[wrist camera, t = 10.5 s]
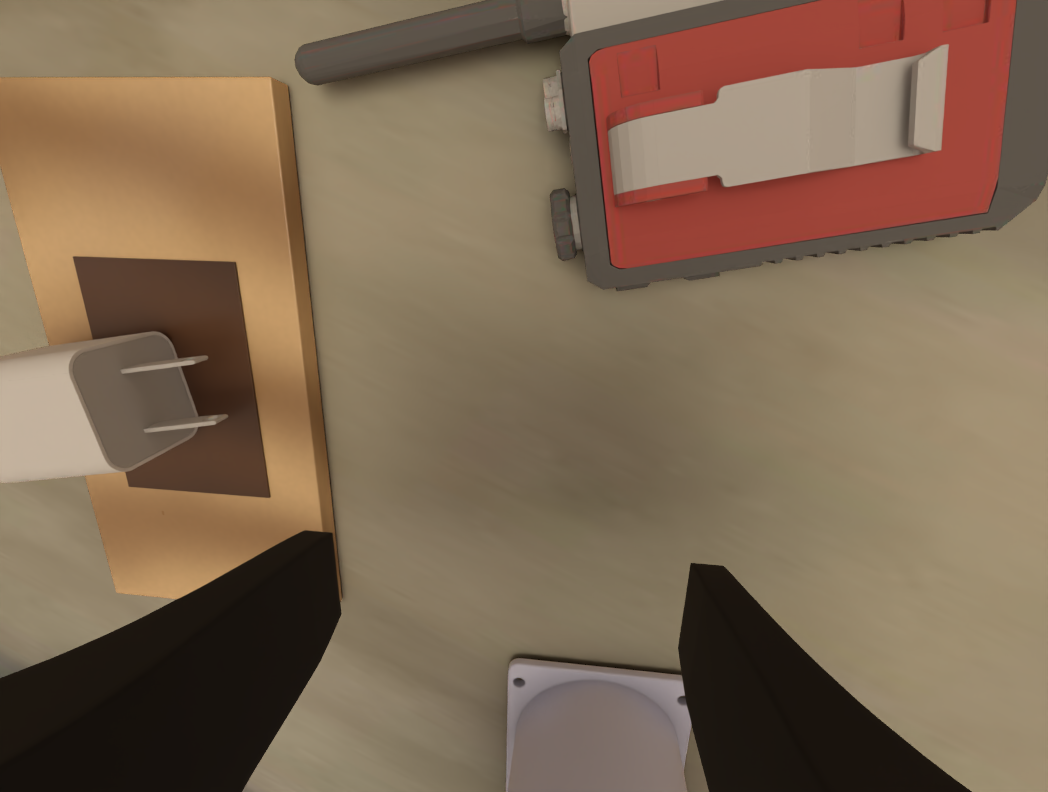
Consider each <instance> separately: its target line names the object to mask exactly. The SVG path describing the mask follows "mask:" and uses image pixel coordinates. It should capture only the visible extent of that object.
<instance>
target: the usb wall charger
mask: <svg viewBox="0 0 1048 792" xmlns="http://www.w3.org/2000/svg"><path fill="white" fill-rule="evenodd" d="M207 359H208V356H206V355H204V356H196V357H187V358H179V359H178V357H177V354H176V352H175V349H174V346H173V344H172V342H171V341H170V340H169V339H168V337H166V336H165V335H164V334H162V333H160V332H156V331H152V332H145V333H138V334H131V335H124V336H117V337H110V338H102V339H95V340H88V341H81V342H74V343H67V344H60V345H53V346H46V347H41V348H36V349H32V350H27V351H23V352H19V353H14V354H10V355H5V356H1V357H0V482H3V483H14V482H24V481H35V480H45V479H55V478H65V477H76V476H86V475H96V474H107V473H117V472H127V471H131V470H133V469H135V468H137V467H139V466H141V465H142V464H144V463H146V462H148V461H150V460H152V459H154V458H155V457H157V456H159V455H161V454H163V453H165V452H166V451H168V450H170V449H172V448H174V447H176V446H177V445H179V444H181V443H183V442H185V441H187V440H189V439H190V438H192V437H193V436H194V435H195V433H196V431H197V429H198V427H201V426H209V425H215V424H217V423H219V422H221V421H222V420H224V419H226V418H228V415H227V414H222V415H210V416H200V417H198V414H197V411H196V408H195V405H194V402H193V399H192V397H191V394H190V391H189V388H188V385H187V382H186V380H185V377H184V374H183V371H182V368H181V366H186V365H193V364H196V363H199V362H201V361H204V360H207Z"/></svg>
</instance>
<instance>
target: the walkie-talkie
mask: <svg viewBox="0 0 1048 792" xmlns="http://www.w3.org/2000/svg"><path fill="white" fill-rule="evenodd" d="M564 35H570V36H571V38H570V39H569V41H568V42H567V43H566V44H565V45H564V46H563V48H562V49H561V50H560V51H559V52H560V61H561V69H562V72H561V73H560V70H556V76H553V77H549V78H545V79H543V87H544V95H545V99H544V107H545V114H546V121H547V127H548V130H549V131H554V130H561V129H563V133H564V134H565V133H567V131H568V130H569V134H570V141H569V145H570V153H571V161H572V165H573V170H574V178H575V186H576V194H575V196H571V197H570V194H569V192H568V190H566V189H565V188H563V189H558V190H553V191H552V193H551V194H550V202H551V214H552V223H553V230H554V236H555V242H556V247H557V252H558V257H559V258H560V259H561V260H562V261H566V260H569V259H573V258H575V257H576V255H577V250H579V249H582V251H583V252H584V257H585V264H586V272H587V280H588V281H589V282H590V283H592V284H594V285H596V286H598V287H600V288H602V289H609V288H616V290H617V291H622V290H629V289H635V288H642V287H647V286H648V285H649V284H650V283H651V282H656V281H663V280H669V279H676V278H685V279H687V280H696V279H703V278H709V277H716V276H720V274H719V272H723V271H729V270H736V269H743V268H749V267H756V266H761V264H762V262H770V263H781V262H782V260H783V259H791V260H802V259H803V257H804V256H813V257H822V256H824V254H825V253H835V254H842V253H845V252H846V250H858V251H862V250H867V248H868V247H869V246H870V247H888V246H889V245H890V244H891V243H894V244H908V243H911V242H912V241H913V240H922V241H929V240H934V238H935V237H955V236H957V235H958V234H975V233H980V231H981V230H999V229H1000V228H1002V227H1003V226H1004V225H1005V224H1007V223H1008V222H1009V221H1010V220H1012V219H1013V218H1014V217H1015V216H1017V215H1018V214H1019V213H1021V212H1022V211H1023V210H1024V209H1026V208H1027V207H1028V206H1029V205H1031V204H1032V203H1033V202H1034V201H1036V200H1037V198H1038V196H1039V194H1040V193H1041V191H1042V189H1043V188H1044V186H1045V184H1046V180H1047V176H1048V0H485V1H481V2H477V3H473V4H469V5H465V6H461V7H457V8H452V9H448V10H444V11H440V12H436V13H432V14H428V15H424V16H419V17H415V18H411V19H407V20H403V21H399V22H395V23H391V24H387V25H382V26H378V27H374V28H370V29H366V30H362V31H358V32H354V33H349V34H345V35H341V36H337V37H333V38H329V39H325V40H321V41H316V42H312V43H308V44H304V45H302V46H301V47H300V48H299V49H298V51H297V53H296V55H295V65H296V69H297V71H298V72H299V74H300V75H301V77H302V78H303V79H304V80H305V81H307V82H308V83H310V84H314V85H322V84H326V83H330V82H335V81H339V80H344V79H348V78H353V77H357V76H361V75H366V74H370V73H375V72H379V71H384V70H388V69H393V68H397V67H401V66H406V65H410V64H415V63H419V62H424V61H428V60H432V59H437V58H441V57H446V56H450V55H455V54H459V53H463V52H468V51H472V50H477V49H481V48H486V47H490V46H494V45H499V44H503V43H508V42H512V41H517V40H521V39H523V40H524V41H525V42H526V43H528V44H529V43H533V42H537V41H542V40H546V39H551V38H555V37H559V36H564Z"/></svg>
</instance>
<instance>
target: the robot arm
mask: <svg viewBox="0 0 1048 792" xmlns="http://www.w3.org/2000/svg"><path fill="white" fill-rule="evenodd" d="M340 616H341V606H340V596H339V587H338V578H337V569H336V559H335V550H334V541H333V533H331V532H320V531H308V530H304V531H302V532H300V533H298V534H296V535H293V536H292V537H290V538H288V539H286V540H284V541H282V542H280V543H278V544H277V545H275V546H273V547H271V548H269V549H268V550H266V551H264V552H262V553H261V554H259V555H257V556H255V557H254V558H252V559H250V560H248V561H246V562H245V563H243V564H241V565H239V566H238V567H236V568H234V569H232V570H230V571H229V572H227V573H225V574H223V575H222V576H220V577H218V578H216V579H214V580H213V581H211V582H209V583H207V584H206V585H204V586H202V587H200V588H198V589H196V590H194V591H192V592H190V593H188V594H187V595H185V596H183V597H181V598H179V599H177V600H175V601H173V602H171V603H169V604H167V605H165V606H164V607H162V608H160V609H158V610H156V611H154V612H152V613H150V614H148V615H146V616H144V617H142V618H140V619H138V620H136V621H134V622H132V623H130V624H128V625H126V626H124V627H122V628H119V629H117V630H115V631H113V632H111V633H109V634H107V635H104V636H102V637H100V638H98V639H95V640H93V641H91V642H89V643H86V644H84V645H82V646H80V647H77V648H75V649H73V650H71V651H68V652H66V653H63V654H61V655H59V656H56V657H54V658H51V659H49V660H46V661H44V662H41V663H39V664H36V665H33V666H31V667H28V668H26V669H23V670H21V671H18V672H15V673H13V674H10V675H8V676H5V677H2V678H0V792H242V791H243V789H244V787H245V785H246V784H247V782H248V780H249V778H250V776H251V775H252V773H253V772H254V770H255V768H256V767H257V765H258V763H259V762H260V760H261V758H262V757H263V755H264V754H265V752H266V750H267V749H268V747H269V745H270V744H271V742H272V740H273V739H274V737H275V736H276V734H277V732H278V731H279V729H280V727H281V726H282V724H283V722H284V721H285V719H286V718H287V716H288V714H289V713H290V711H291V709H292V708H293V706H294V704H295V703H296V701H297V700H298V698H299V696H300V695H301V693H302V691H303V690H304V688H305V686H306V685H307V683H308V681H309V680H310V678H311V676H312V675H313V673H314V671H315V669H316V668H317V666H318V664H319V663H320V661H321V659H322V656H323V654H324V652H325V650H326V648H327V646H328V644H329V641H330V639H331V637H332V635H333V632H334V630H335V628H336V625H337V623H338V621H339V618H340ZM678 650H679V658H680V665H681V672H682V675H676V674H666V673H657V672H647V671H638V670H628V669H619V668H609V667H600V666H590V665H581V664H571V663H562V662H552V661H543V660H533V659H524V658H516V659H514V660H512V661H511V662H510V664H509V669H508V704H507V759H506V792H687V787H686V782H685V776H684V766H685V760H686V754H687V748H688V742H689V736H690V730H691V724H692V728H693V732H694V735H695V739H696V743H697V747H698V751H699V755H700V758H701V762H702V766H703V770H704V774H705V777H706V781H707V785H708V789H709V792H971V791H970V790H969V789H967V788H966V787H964V786H963V785H962V784H960V783H959V782H958V781H956V780H955V779H953V778H952V777H951V776H950V775H948V774H947V773H946V772H944V771H943V770H942V769H940V768H939V767H938V766H937V765H935V764H934V763H933V762H931V761H930V760H929V759H927V758H926V757H925V756H924V755H922V754H921V753H920V752H919V751H917V750H916V749H915V748H914V747H913V746H911V745H910V744H909V743H908V742H906V741H905V740H904V739H903V738H902V737H900V736H899V735H898V734H897V733H895V732H894V731H893V730H892V729H891V728H889V727H888V726H887V725H886V724H884V723H883V722H882V721H881V720H880V719H878V718H877V717H876V716H875V715H874V714H872V713H871V712H870V711H869V710H868V709H867V708H866V707H864V706H863V705H862V704H861V703H860V702H859V701H857V700H856V699H855V698H854V697H853V696H852V695H851V694H850V693H849V692H848V691H847V690H845V689H844V688H843V687H842V686H841V685H840V684H839V683H838V682H837V681H836V680H835V679H833V678H832V677H831V676H830V675H829V674H828V673H827V672H826V671H825V670H824V669H823V668H822V667H821V666H819V665H818V664H817V663H816V662H815V661H814V660H813V659H812V658H811V657H810V656H809V655H808V654H807V653H806V652H805V651H804V650H803V649H802V648H801V647H800V646H799V645H798V644H797V643H796V642H795V641H794V640H793V639H792V638H791V637H790V636H789V635H788V634H787V633H786V632H785V631H784V630H783V629H782V628H781V627H780V626H779V625H778V624H777V623H776V621H775V620H774V619H773V618H772V617H771V616H770V615H769V614H768V613H767V612H766V611H765V610H764V609H763V608H762V607H761V606H760V604H759V603H758V602H757V601H756V600H755V599H754V598H753V597H752V596H751V595H750V594H749V593H748V592H747V590H746V589H745V588H744V587H743V586H742V585H741V584H740V583H739V582H738V581H737V580H736V579H735V577H734V576H733V575H732V574H731V573H730V572H729V571H728V570H727V569H726V568H725V567H724V566H719V565H707V564H695V563H691V565H690V572H689V579H688V585H687V592H686V599H685V606H684V612H683V619H682V626H681V632H680V639H679V646H678ZM517 678H521V679H523V680H519V679H517ZM680 696H685V697H680Z"/></svg>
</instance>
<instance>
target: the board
mask: <svg viewBox="0 0 1048 792" xmlns="http://www.w3.org/2000/svg"><path fill="white" fill-rule="evenodd" d="M0 167H1V170H2V174H3V178H4V181H5V185H6V189H7V192H8V196H9V200H10V203H11V207H12V211H13V214H14V218H15V222H16V225H17V229H18V233H19V236H20V240H21V244H22V247H23V251H24V255H25V258H26V262H27V266H28V269H29V273H30V277H31V280H32V284H33V288H34V291H35V295H36V299H37V302H38V306H39V310H40V314H41V317H42V321H43V325H44V328H45V332H46V336H47V339H48V343H49V346H53V345H60V344H67V343H74V342H81V341H88V340H95V339H102V338H110V337H117V336H124V335H131V334H138V333H145V332H152V331H156V332H160V333H162V334H164V335H165V336H166V337H168V339H169V340H170V341H171V342H172V344H173V346H174V349H175V352H176V354H177V357H178V359H179V358H187V357H196V356H204V355H206V356H208V359H207V360H204V361H201V362H199V363H196V364H193V365H186V366H181V368H182V371H183V374H184V377H185V380H186V382H187V385H188V388H189V391H190V394H191V397H192V399H193V402H194V405H195V408H196V411H197V414H198V417H200V416H210V415H222V414H227V415H228V418H226V419H224V420H222V421H221V422H219V423H217V424H215V425H209V426H201V427H198V429H197V431H196V433H195V435H194V436H193V437H192V438H190V439H189V440H187V441H185V442H183V443H181V444H179V445H177V446H176V447H174V448H172V449H170V450H168V451H166V452H165V453H163V454H161V455H159V456H157V457H155V458H154V459H152V460H150V461H148V462H146V463H144V464H142V465H141V466H139V467H137V468H135V469H133V470H131V471H127V472H117V473H107V474H96V475H86V476H85V479H86V482H87V486H88V490H89V494H90V497H91V501H92V505H93V508H94V512H95V516H96V519H97V523H98V527H99V530H100V534H101V538H102V541H103V545H104V549H105V552H106V556H107V560H108V563H109V567H110V571H111V574H112V578H113V582H114V585H115V589H116V592H117V593H122V594H132V595H142V596H152V597H162V598H172V599H179V598H181V597H183V596H185V595H187V594H188V593H190V592H192V591H194V590H196V589H198V588H200V587H202V586H204V585H206V584H207V583H209V582H211V581H213V580H214V579H216V578H218V577H220V576H222V575H223V574H225V573H227V572H229V571H230V570H232V569H234V568H236V567H238V566H239V565H241V564H243V563H245V562H246V561H248V560H250V559H252V558H254V557H255V556H257V555H259V554H261V553H262V552H264V551H266V550H268V549H269V548H271V547H273V546H275V545H277V544H278V543H280V542H282V541H284V540H286V539H288V538H290V537H292V536H293V535H296V534H298V533H300V532H302V531H304V530H308V531H320V532H331V533H333V541H334V550H335V559H336V569H337V578H338V587H339V596H340V602H341V600H342V593H341V583H340V574H339V564H338V555H337V545H336V536H335V527H334V517H333V508H332V498H331V489H330V479H329V470H328V460H327V451H326V442H325V432H324V423H323V413H322V404H321V394H320V385H319V376H318V366H317V357H316V347H315V338H314V328H313V319H312V309H311V300H310V291H309V281H308V272H307V262H306V253H305V243H304V234H303V224H302V215H301V206H300V196H299V187H298V177H297V168H296V158H295V149H294V139H293V130H292V121H291V111H290V102H289V92H288V86H287V85H286V84H284V83H282V82H280V81H278V80H275V79H273V78H271V77H0Z"/></svg>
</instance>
